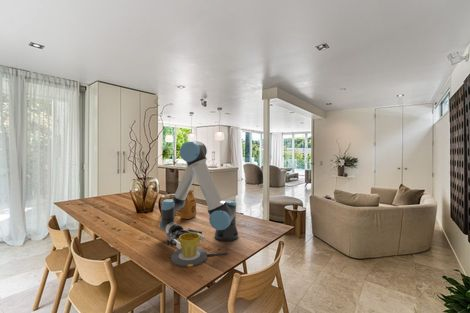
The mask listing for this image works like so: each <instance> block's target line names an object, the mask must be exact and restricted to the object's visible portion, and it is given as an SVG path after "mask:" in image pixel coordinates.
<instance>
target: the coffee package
mask: <svg viewBox="0 0 470 313" xmlns="http://www.w3.org/2000/svg"><path fill="white" fill-rule="evenodd" d="M193 192H194V190H193V189H192V190H189V192H188V194H187V196H186V199H185V205H184V207H183V208H182V209H180V210H179V212H180V219H183V220H185V219H186V220H189V219H191V218H195V217H196V216H197V201H196V198H195V196H194V194H193Z"/></svg>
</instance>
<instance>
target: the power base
mask: <svg viewBox="0 0 470 313" xmlns="http://www.w3.org/2000/svg"><path fill="white" fill-rule="evenodd" d="M228 254H229V252H228V251H225V252H214V253H208V252H207V251H206V250H205V249H203V248H201V247H197V252H196V255H195V256H194V257H190V258H187V257H184V256H183V253H182V248H181V249H177V250H176V251H173V253H172V254H171V257H170V258H171V260H170V261H171V263H172V264H174V266H178V267H182V268H191V267H195V266H199V265H201V264H203V263H205V262H206V260H207V258H208V257H212V256H219V255H220V256H222V255H228Z"/></svg>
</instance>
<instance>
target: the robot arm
mask: <svg viewBox="0 0 470 313" xmlns="http://www.w3.org/2000/svg"><path fill="white" fill-rule="evenodd" d="M207 151H208V149H207V146H206V145H205V144H204V143H203V142H202V141H195V140H189V141H186V142H183V143H182V145H181V146H180V149H179V156H180V157H181V159H182V160H183V161H185V163H186V167H185V170H184V172H183V174H182V177H181V180H180V182H179V184H178V186H177V188H176V191H175V193H174V195H173V198H172V199H170V198H169V199H163V200H162V201H161V209H160V210H161V220H160V221H159V224H158V227H159V228H160V229H161V231H162V232H164V233H165V234H166V245H167V246H169V245H170V247H173V246H174V247H176V248H177V250H180V249H182V248H181V243H180V242H179V237H180V235H182V234H185V233H197V234H199V236H200V241H201V242H202V243H205V241H206V239H205V238H206V237H205V235H203V231H202V230H199V229H198V230H197V229H191V228H189V227H188V228H187V229H184V228H183V226H181V225H180V224H178V223H177V222H175V213H176V212H179V211H180V209H182V208H183V207H184V205H185V199H186V196H187V194H188V192H189V191H190V189H191V187H192V184H193V183H194V181H195V179H196V180H197V183H198V186H199V187H200V190H201V191H202V192H201V193H202V195H203V197H204V199H205V201H206V204H207V206H208V207H207V210H206V211H207V213H208V215H209V218H208V221H209V224H210V226H211V227H212V228H213V229H215V232H214V238H215V240H217V241H221V242H231V241H235V240H237V239H238V238H239V231H238V228H237V225H236V224H237V223H236V222H237V221H236V220H237V219H236V218H237V215H236V214H237V203H236V201H234V200H223V198H222V197H221V195H220V192H219V190H218V187H217V185H216V183H215V181H214V179H213V177H212V174H211V171H210V169H209V167H208V165H207V160H208V158H207V153H208V152H207Z"/></svg>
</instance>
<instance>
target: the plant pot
mask: <svg viewBox="0 0 470 313" xmlns="http://www.w3.org/2000/svg"><path fill="white" fill-rule="evenodd" d="M200 241H201V240H200V236H199V234H197V233H185V234H182V235H180V237H179V238H178V242H180V243H181V249H182V253H183V256H184V257H187V258H190V257H194V256H195V255H196V252H197V248H199V247H198V246H199V243H200Z"/></svg>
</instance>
